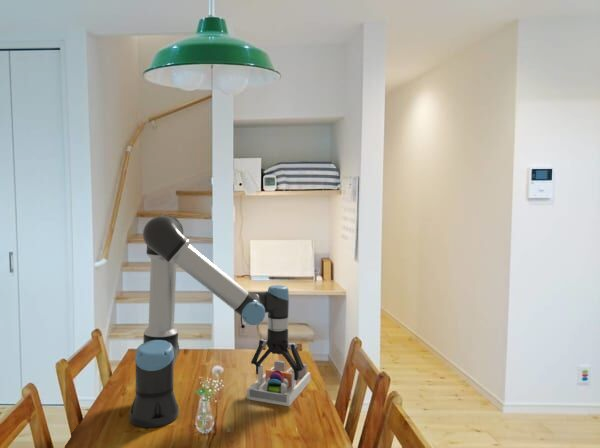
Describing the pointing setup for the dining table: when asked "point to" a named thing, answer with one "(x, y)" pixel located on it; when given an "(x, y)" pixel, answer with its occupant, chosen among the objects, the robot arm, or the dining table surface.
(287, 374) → the pusher
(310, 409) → the dining table surface
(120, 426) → the dining table surface
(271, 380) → the multicolored domed toy
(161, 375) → the robot arm
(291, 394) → the grey tray
